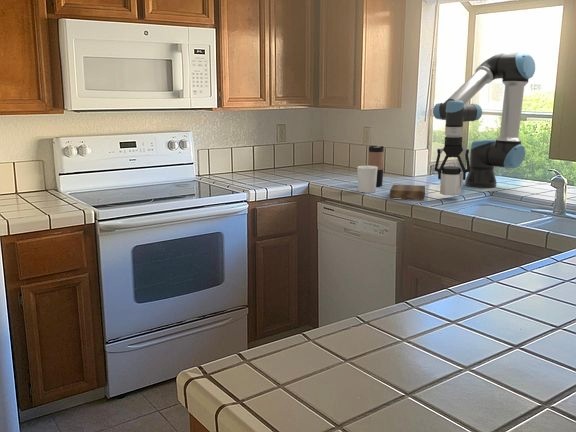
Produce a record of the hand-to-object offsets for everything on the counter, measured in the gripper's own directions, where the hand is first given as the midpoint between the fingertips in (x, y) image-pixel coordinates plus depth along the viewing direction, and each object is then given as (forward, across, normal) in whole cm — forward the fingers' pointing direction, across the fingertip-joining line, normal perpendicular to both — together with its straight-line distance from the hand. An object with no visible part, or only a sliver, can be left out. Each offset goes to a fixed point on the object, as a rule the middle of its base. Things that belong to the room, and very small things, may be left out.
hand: (451, 186), depth 268 cm
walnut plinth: (+5, -19, +2) cm, 20 cm away
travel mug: (+6, -37, +27) cm, 46 cm away
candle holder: (+6, -39, +10) cm, 41 cm away
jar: (+3, 0, 0) cm, 3 cm away
